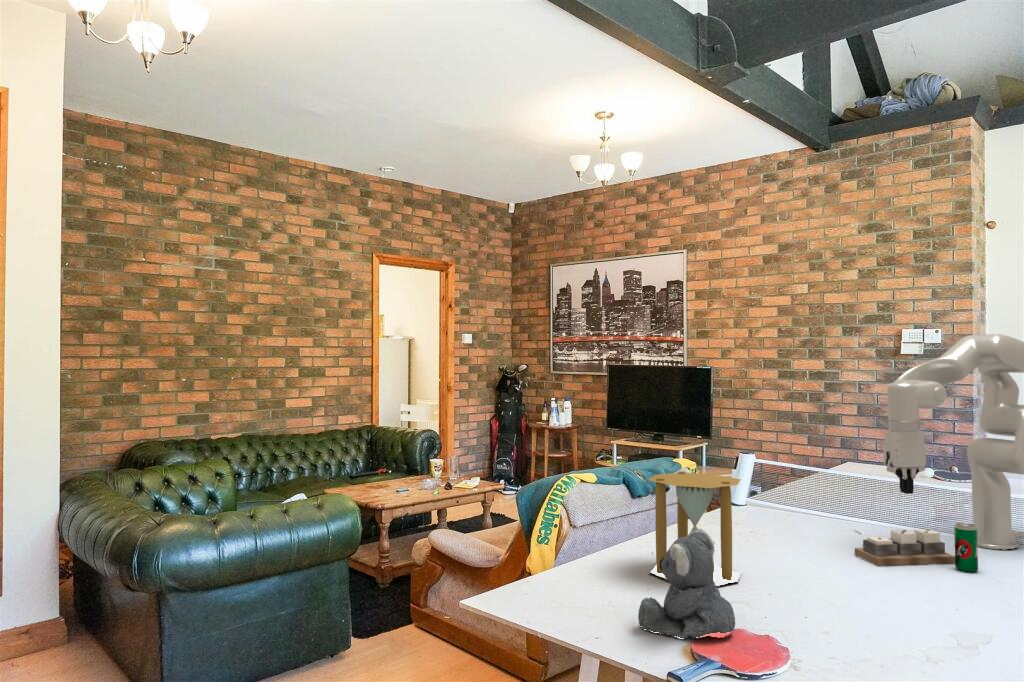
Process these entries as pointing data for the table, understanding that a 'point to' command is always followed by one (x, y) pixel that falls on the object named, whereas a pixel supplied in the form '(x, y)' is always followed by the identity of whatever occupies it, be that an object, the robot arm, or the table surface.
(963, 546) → the soda can
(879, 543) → the one dot button
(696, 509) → the hourglass
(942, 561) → the button panel
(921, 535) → the two dot button
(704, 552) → the koala plush
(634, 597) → the table surface
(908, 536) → the three dot button
